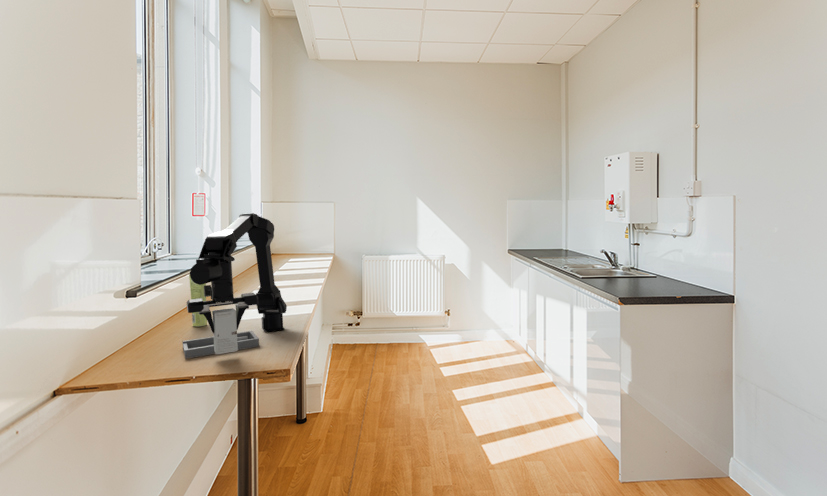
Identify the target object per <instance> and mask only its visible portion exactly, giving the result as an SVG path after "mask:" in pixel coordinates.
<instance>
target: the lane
mask: <svg viewBox="0 0 827 496" xmlns="http://www.w3.org/2000/svg"><path fill="white" fill-rule="evenodd" d="M244 336H248V339H247V340H241V341H237V344H238V350H237V351H239V350H244V349H250V348H251V349H252V348H257V347H260V338H259V336H257V335H256V333H255V331H253V330H248V331H246V330H245V331H241V332H237V337H244ZM182 350H183V354H184V359H192V358H198V357H203V356H204V357H205V356H209V355H217V354H216V353H215V351H214V336H207V337H200V338H195V339H187V340H186V339H185V340H182Z"/></svg>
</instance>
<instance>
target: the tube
mask: <svg viewBox="0 0 827 496" xmlns="http://www.w3.org/2000/svg"><path fill="white" fill-rule="evenodd" d="M188 279H189V288H190V290H189V291H190V300H192V299H201V298H202V300H203V301H207V297H205V296H204V286H205V285H207V283H206V284H202V285H199V284H196V283H194V282H193V281H192V279H191V277H190V273H188ZM191 321H192V327H195V328H196V327H197V328H198V327H205V326H207V325H208V321H207V319H206V318H205V316H204V315H203V314H202V315H200V314H199V312H194V313H191Z"/></svg>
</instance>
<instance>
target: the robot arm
mask: <svg viewBox="0 0 827 496" xmlns="http://www.w3.org/2000/svg"><path fill="white" fill-rule="evenodd" d="M274 233H275V225H274V224H273V222H272V221H271V220H269V219H267V218H264V217H262V216H259V215H258V214H257V213H254V212H250V213H249V212H247V213H246V212H243V213H241V214H239V215H238V217H237V219H235V220H234V221H233V222H231V224H229V225H228V226H227V227H225V229H223V230H221V231H217V232H213V233H211V234H209V235H207V236H206V238H205V239H204V242H203V245H202V248H201V250H200V252H199V255H198V259H197V258H196V260H195V264H194V265H192V267H191V269H190V271H189V274H190V277H191V279H192V281H193V282H194V283H196V284H199V285H202V284H206V285H205V286H204V296H205V297H206V298H207V297H210V299H211V300H206V301H203V300H202V298H201V299H192V300H191V299H188V300H187V301H186V310H187V313H188V314H192V313H194V312H199V314H200V315H202V314H203V315H204V316H205V318H206V319H207V324H208V326H209V329H210V330H211V333H212V334H213V333H214V325H213V315H212V311H211V309H210V308H214V307H223V306H228V305H235V310H236V322H237V331H238V329H239V326H240V325H241V321H242V319H243V316H244V314H245V312H246V310H248V309H249V308H250V306H256V308H257V309H256V310H257V312H258V314H259V315H260V314H262V316H261V329H262V330H263V331H264V332H265V333H272V332H278V331H284V330H285V327H284V320H283V314H286V313H287V312H286V311H287V307H288V306H287V304H286V302H285V301H284V298H283V297H282V293H281V290H280V289H279V288H278V287H277V285H276V283H275V275H274V267H273V258H272V250H271V243H272V242H273V239H274V237H275V234H274ZM246 234H247V235H248V240H249V241H250V242H251V244H252V245H253V246H254V248H255V254H256V255H255V257H256V261H257V263H256V264H257V271H258V279H259V289H258V291H257V293H254V292H247V293H241V295H240V296H238V297H237V296H236V297H234V282H233V279H234V278H233V263H232V262H235V260H236V259H235V257H233V256H232V254H233V252H234V251H235V250H236V249H237V247H238V241H239V240H240V239H241V238H242V237H243V236H244V235H246ZM209 283H211V284H209ZM207 284H208V285H207Z"/></svg>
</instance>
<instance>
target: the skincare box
mask: <svg viewBox="0 0 827 496" xmlns="http://www.w3.org/2000/svg"><path fill="white" fill-rule="evenodd" d="M211 315H212V320H213V325H214V333H212V334H213V336H214V351H215V353H216V354H215V355H221V354H222V355H223V354H227V353H228V354H229V353H234V352H238V351H239V350H238V344H237V333H238V330H237V322H236V308H223V309H215V310H212V311H211ZM213 336H212V337H213Z"/></svg>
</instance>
